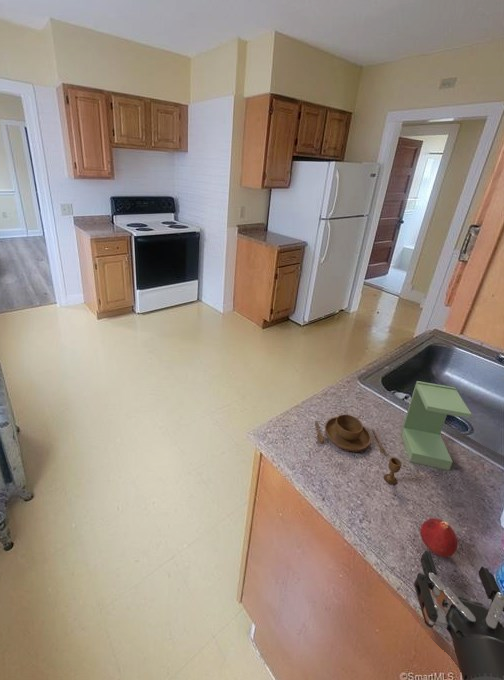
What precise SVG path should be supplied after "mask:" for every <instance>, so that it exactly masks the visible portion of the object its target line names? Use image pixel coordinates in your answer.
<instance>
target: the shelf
mask: <svg viewBox="0 0 504 680" xmlns="http://www.w3.org/2000/svg"><path fill="white" fill-rule="evenodd" d="M448 415H450V416H455V417H461V418H464V419H465V418H466V419H471V417H472V415H473V414H472V412H471V411H470V409H469V407H468V406H467V404H466V403H465V401H464V399H463V398H462V397H461V395H460V393H459V392H458V391H457V388H456V387H455V386H449V385H444V384H437V383H431V382H426V381H419V380H416V382H415V384H414V389H413V392H412V394H411V398H410V401H409V405H408V409H407V411H406V415H405V418H404V422H403V424H402V428H401V432H400V436H401V439H402V443H403V446H404V448H405V451H406V455H407V457H408V461H409V462H410V463H414V464H418V465H423V466H428V467H432V468H436V469H440V470H441V469H442V470H445V471H450V470H451V467H452V465H453V463H454V462H453V459H452V457H451V455H450V453H449V451H448V448H447V446H446V444H445V442H444V440H443V438H442V436H441V433H442V430H443V428H444V426H445V423H446V419H447V417H448Z"/></svg>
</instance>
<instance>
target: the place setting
mask: <svg viewBox="0 0 504 680" xmlns="http://www.w3.org/2000/svg"><path fill="white" fill-rule="evenodd" d="M314 422H315V423H314V424H315V427H316V431H317V434H316V438H317V440H318V441H319V442H320V443H323V442H324V441H325V437H324V436H323V434H322V433H321V432H320V427H319V423H318V421H317V420H315V421H314ZM324 432H325V435H326V437H327V438H328V440H329V441H330V442H331V443H332V444H333V445H335V446H336V447H338V448H340V449H342V450H345V451H347V452H362V451H364V450H366V449H367V448H368V447H369V446H370V444H371V440H372V438H371V434H370V432H369V431H368V429H367V428H366V427H365V426H364V425H363V423H362V422H361V420H360V419H358V418H357V417H355V416H354V415H350V414H340V415H338V416H333V417H331V418H329V419H328V420H327V421H326V422H325V424H324ZM372 433H373V435H374V437H375V439H376V441H377V443H378V445H379V451H380V453H381V454H382V455H383V456H385V455H386V456H389V454H388V452H387V451H386V449H385V448H384V447H383V446H382V444H381V442H380V439H379V436H378V435H377V433H376V431H375V430H374V428H372ZM402 464H403V463H402V461H401V460H400V459H399V458H397V457H390V459H389V461H388V469H389V471H390V472H389V473H385V474H383V479H384V481H385V482H386V483H387V484H389V485H392V486H394V485H397V483H398V480H397V478H396V477H395V474H396V473H399V472H400V470H401V467H402Z"/></svg>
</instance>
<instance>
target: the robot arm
mask: <svg viewBox="0 0 504 680" xmlns="http://www.w3.org/2000/svg"><path fill="white" fill-rule="evenodd" d="M420 564H421V568H422V571H423V572H422V573H421V572H418V573H417V575H416V577H415V580H414V582H413V586H414V589H415V593H416V596H417V600H418V605H419V607H420V610H421V611H420V612H421V614H422V618H423V621H424V624H425V625H426V626H427V627H428V628H430V629H432V628H434V627H435V626H438V627H440V628H441V627H442V628H444V629H446V630H447V632H448V634H449V635H450V637H451V640H452V645H453V649H454V652H455V657H456V660H457V663H458V667H459V670H460V673H461V677H462V680H504V626H503V625H502V623H501V622H500V621H499V620H500V618H501V615H502V613H504V594H503V593H502V591H501V588H500V587H499V585H498V582H497V580H496V577H495V575H494V574H493V573H492V572H490V571H489V568H488V567H485V566H481V567H480V569H479V570H478V577H479V579H480V581H481V585H482V587H483V590H484V591H485V594H486V597H487V600H491V602H490V604H489V606H488V608H487V607H485V606H484V605H483V603H482V602H478V601H471V600H469V599H467V598H465V597H462V596H458V597H457V595H456V594H455V593H454V592H453V591H452V590H451V588H450V587H448V586H446V585H445V584H444V583H443V582H442V580H440V578H439V577H438V576H437V575H438V572H437V569H436V566H435V562H434V559H433V555H432V551H431V550H424V552H423V553H422V554H421V557H420ZM433 597H434V598H435V601H436V603H437V605H438V606H437V605H435V602H434V599H433ZM449 602H450V604H449ZM439 608H441V610H442V612H443V613H445V615H443V614H442V613H441V611H440V609H439Z"/></svg>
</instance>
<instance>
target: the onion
mask: <svg viewBox="0 0 504 680" xmlns="http://www.w3.org/2000/svg"><path fill="white" fill-rule="evenodd" d="M419 531H420V537H421V540H422V542H423V543H424V544H425V546H426V548H427V549H428V550H429V551H430V552H431V553H433V554H435V555H436V556H439V557H442V558H446V557H447V558H449V557H452V556H453V555H454V554H455V553H456V552H457V549H458V538H457V534H456V533H455V531H454V529H453V528H452V526H451V525H450V524H449V523H448V521H444V520H442V519H440V518H435V517H433V518H428V519H426V520H425V521H424V522H423V523H422V524H421V526H420V530H419Z"/></svg>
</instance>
